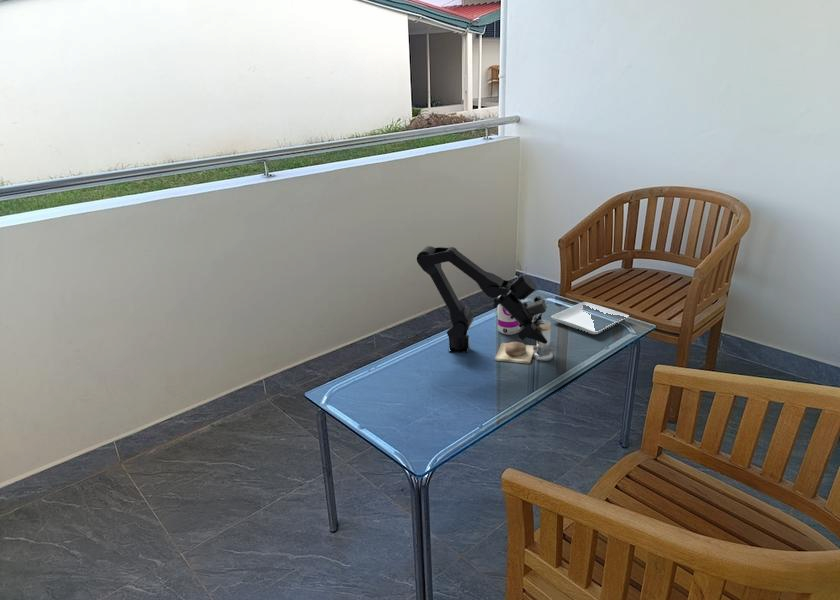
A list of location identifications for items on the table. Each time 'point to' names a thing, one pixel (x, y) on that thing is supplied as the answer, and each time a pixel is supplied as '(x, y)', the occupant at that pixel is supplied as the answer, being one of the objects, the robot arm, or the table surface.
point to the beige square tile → (515, 352)
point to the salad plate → (583, 317)
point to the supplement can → (506, 322)
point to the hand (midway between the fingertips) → (547, 339)
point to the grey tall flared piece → (543, 350)
